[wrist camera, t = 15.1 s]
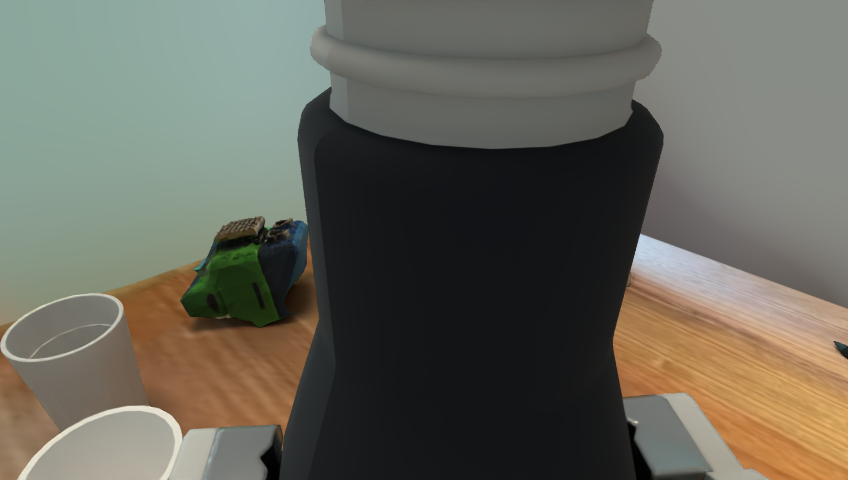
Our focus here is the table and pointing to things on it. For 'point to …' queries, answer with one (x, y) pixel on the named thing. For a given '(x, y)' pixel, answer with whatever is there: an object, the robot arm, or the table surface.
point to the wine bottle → (472, 238)
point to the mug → (111, 448)
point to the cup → (76, 357)
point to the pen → (842, 348)
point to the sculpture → (249, 271)
